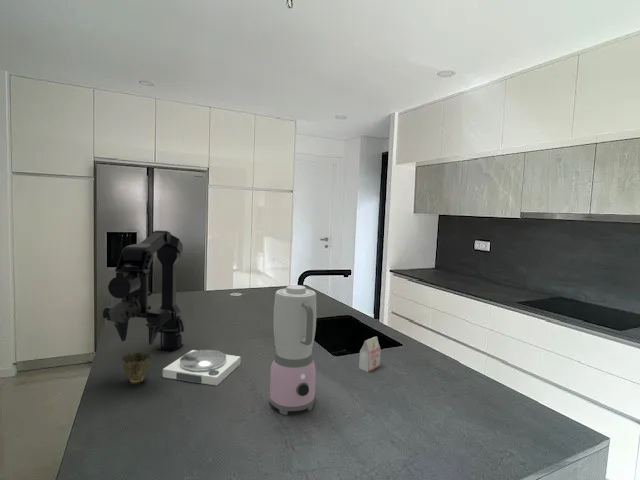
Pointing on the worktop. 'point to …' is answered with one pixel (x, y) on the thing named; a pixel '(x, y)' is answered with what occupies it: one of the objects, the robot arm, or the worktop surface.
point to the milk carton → (370, 355)
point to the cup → (136, 366)
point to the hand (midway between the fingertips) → (137, 342)
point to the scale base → (202, 376)
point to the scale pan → (203, 360)
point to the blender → (293, 350)
